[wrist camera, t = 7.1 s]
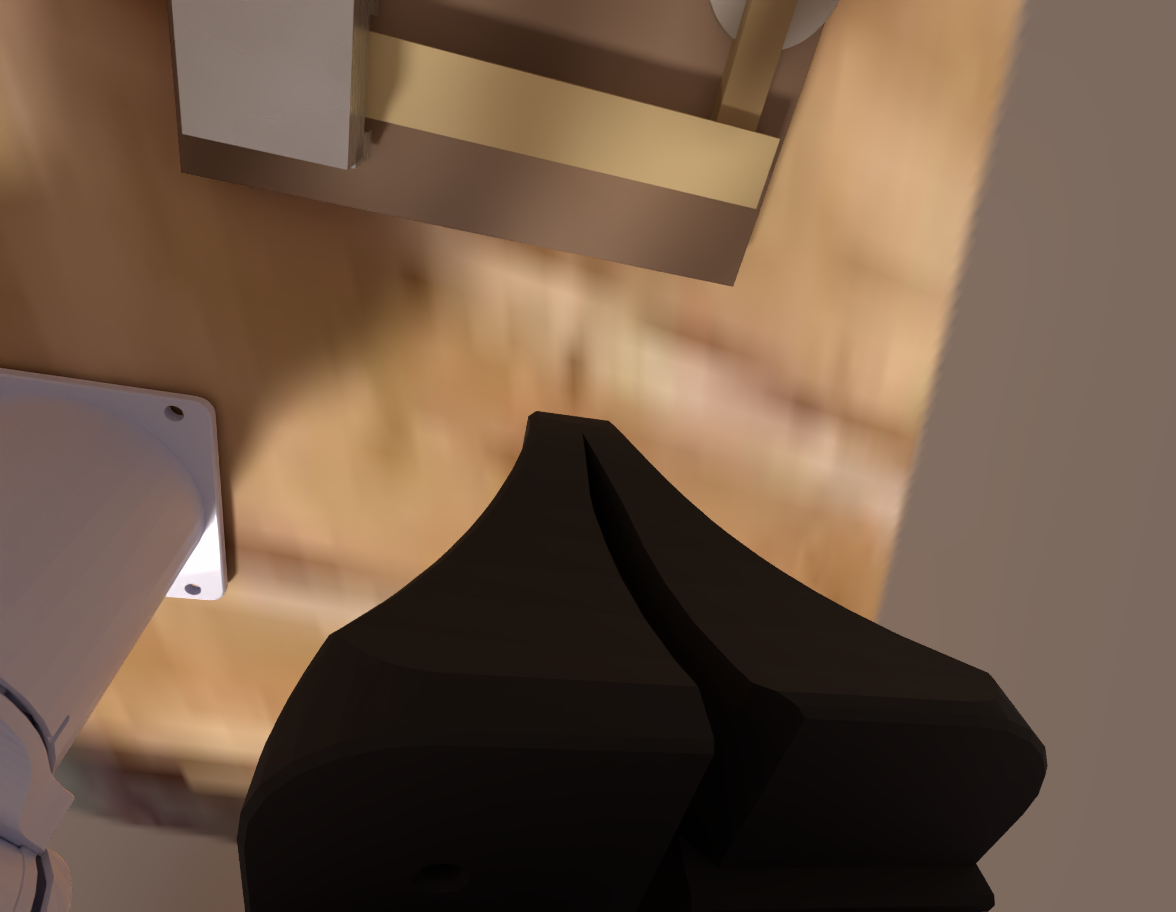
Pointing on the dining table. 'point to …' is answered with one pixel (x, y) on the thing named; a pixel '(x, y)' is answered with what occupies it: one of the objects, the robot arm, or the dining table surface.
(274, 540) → the dining table surface
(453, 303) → the dining table surface
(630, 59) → the wooden mechanism board
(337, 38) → the sliding leg
